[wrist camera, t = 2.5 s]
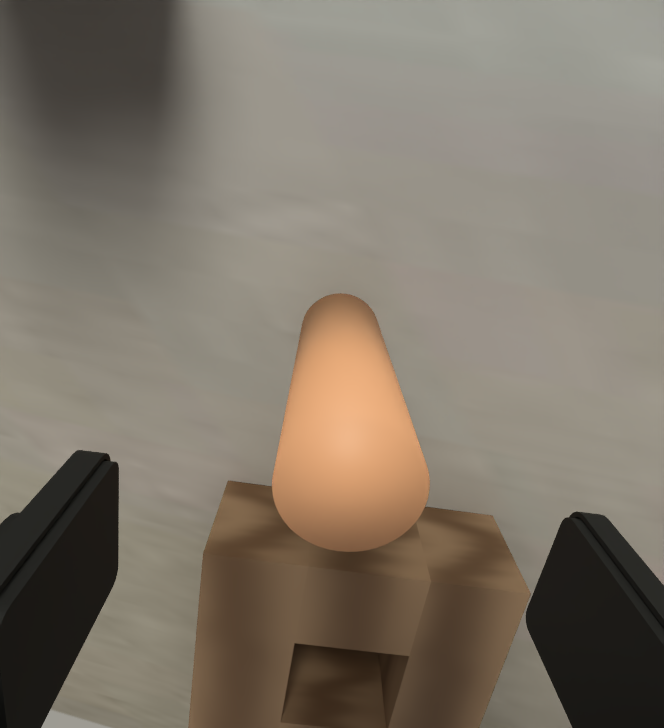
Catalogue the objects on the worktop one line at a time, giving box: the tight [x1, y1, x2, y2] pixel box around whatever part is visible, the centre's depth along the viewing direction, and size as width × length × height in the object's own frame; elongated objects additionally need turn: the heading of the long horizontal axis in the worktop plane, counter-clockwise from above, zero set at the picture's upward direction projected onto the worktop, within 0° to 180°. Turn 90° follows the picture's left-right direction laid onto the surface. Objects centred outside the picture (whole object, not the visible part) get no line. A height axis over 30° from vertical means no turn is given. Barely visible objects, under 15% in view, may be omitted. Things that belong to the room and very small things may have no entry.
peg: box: [272, 294, 430, 552], centre depth 19 cm, size 4×4×14 cm
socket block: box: [188, 481, 531, 728], centre depth 29 cm, size 16×16×6 cm
